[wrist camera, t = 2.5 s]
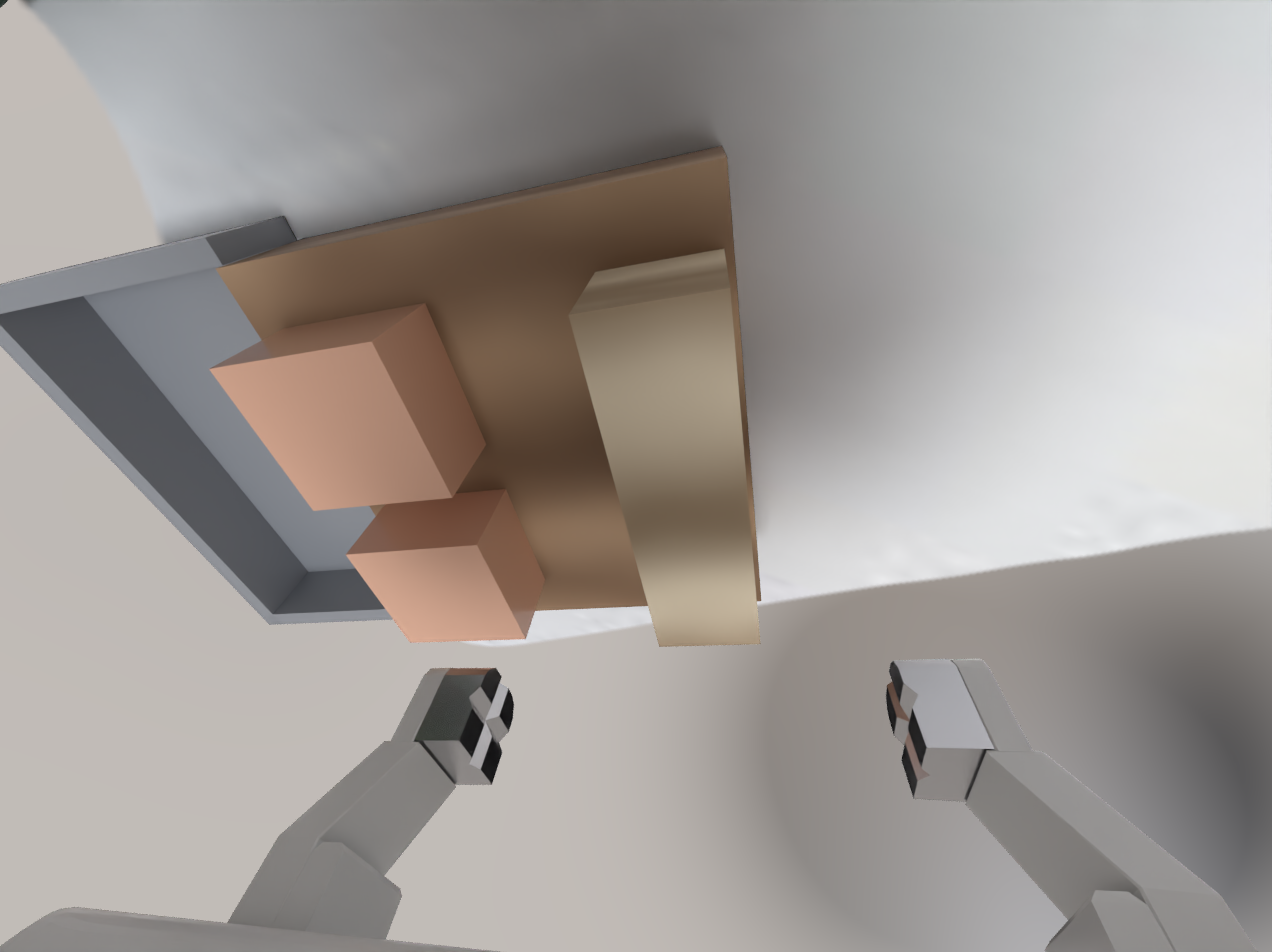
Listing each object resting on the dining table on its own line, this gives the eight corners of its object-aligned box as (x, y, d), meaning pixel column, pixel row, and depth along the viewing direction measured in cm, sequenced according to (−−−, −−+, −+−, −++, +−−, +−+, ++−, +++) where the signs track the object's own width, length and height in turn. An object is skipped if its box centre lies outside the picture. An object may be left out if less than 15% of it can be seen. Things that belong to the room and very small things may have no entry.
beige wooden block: (595, 271, 14) (567, 314, 11) (724, 248, 13) (730, 287, 10) (665, 573, 21) (659, 646, 18) (752, 568, 20) (760, 643, 17)
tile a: (283, 328, 16) (208, 368, 13) (425, 303, 15) (371, 341, 12) (363, 458, 19) (313, 510, 16) (486, 444, 18) (452, 497, 15)
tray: (58, 268, 20) (-48, 296, 17) (283, 215, 18) (204, 237, 15) (310, 575, 30) (269, 624, 27) (472, 565, 28) (446, 616, 25)
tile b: (388, 500, 20) (345, 554, 17) (505, 488, 19) (477, 545, 16) (441, 585, 23) (410, 642, 20) (545, 579, 22) (525, 639, 19)
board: (301, 239, 18) (215, 268, 15) (721, 145, 15) (727, 157, 12) (470, 554, 27) (439, 614, 24) (753, 535, 24) (761, 601, 21)
